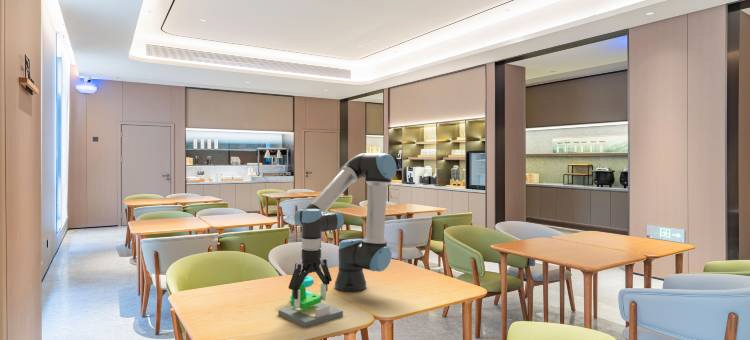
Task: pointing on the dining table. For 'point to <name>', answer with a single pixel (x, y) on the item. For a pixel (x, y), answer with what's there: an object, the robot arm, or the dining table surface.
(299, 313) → the grey square plate
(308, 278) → the donuts
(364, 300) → the dining table surface
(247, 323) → the dining table surface
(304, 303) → the mechanical part
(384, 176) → the robot arm
